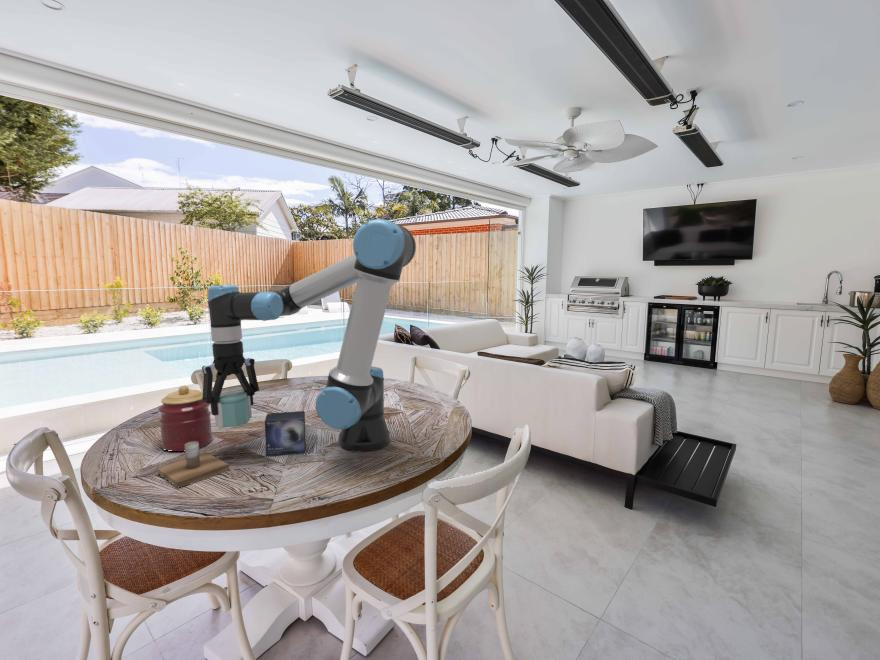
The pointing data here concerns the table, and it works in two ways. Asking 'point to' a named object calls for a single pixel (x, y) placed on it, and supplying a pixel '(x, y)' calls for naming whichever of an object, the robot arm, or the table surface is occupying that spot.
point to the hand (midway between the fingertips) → (234, 421)
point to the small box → (285, 433)
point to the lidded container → (234, 408)
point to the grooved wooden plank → (192, 467)
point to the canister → (184, 419)
